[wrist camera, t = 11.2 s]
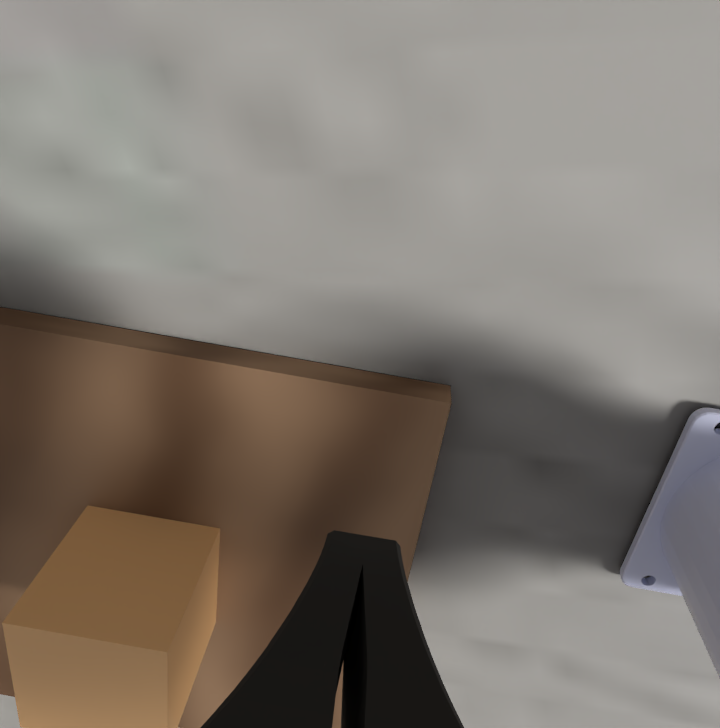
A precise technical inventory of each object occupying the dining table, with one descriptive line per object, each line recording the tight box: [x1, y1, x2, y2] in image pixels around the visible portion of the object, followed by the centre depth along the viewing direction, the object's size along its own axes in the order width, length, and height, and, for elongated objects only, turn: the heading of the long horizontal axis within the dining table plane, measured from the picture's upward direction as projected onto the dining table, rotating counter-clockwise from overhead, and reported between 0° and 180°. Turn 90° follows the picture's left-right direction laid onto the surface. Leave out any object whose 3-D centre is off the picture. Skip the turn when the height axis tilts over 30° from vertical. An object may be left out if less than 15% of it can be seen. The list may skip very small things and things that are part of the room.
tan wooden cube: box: [2, 506, 220, 728], centre depth 24 cm, size 5×5×6 cm
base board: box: [0, 307, 451, 728], centre depth 27 cm, size 20×20×1 cm
